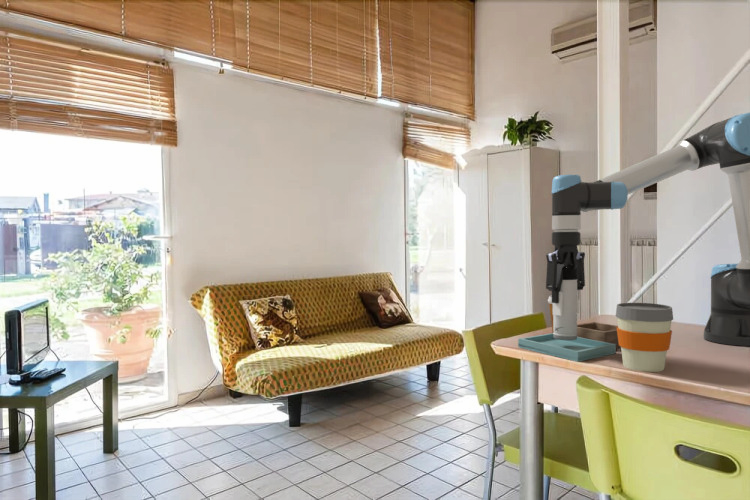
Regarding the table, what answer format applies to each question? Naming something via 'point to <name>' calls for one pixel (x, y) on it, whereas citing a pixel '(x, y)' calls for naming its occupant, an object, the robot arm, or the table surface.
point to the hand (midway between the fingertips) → (565, 313)
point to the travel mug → (567, 308)
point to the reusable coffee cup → (644, 335)
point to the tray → (567, 347)
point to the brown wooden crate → (598, 332)
